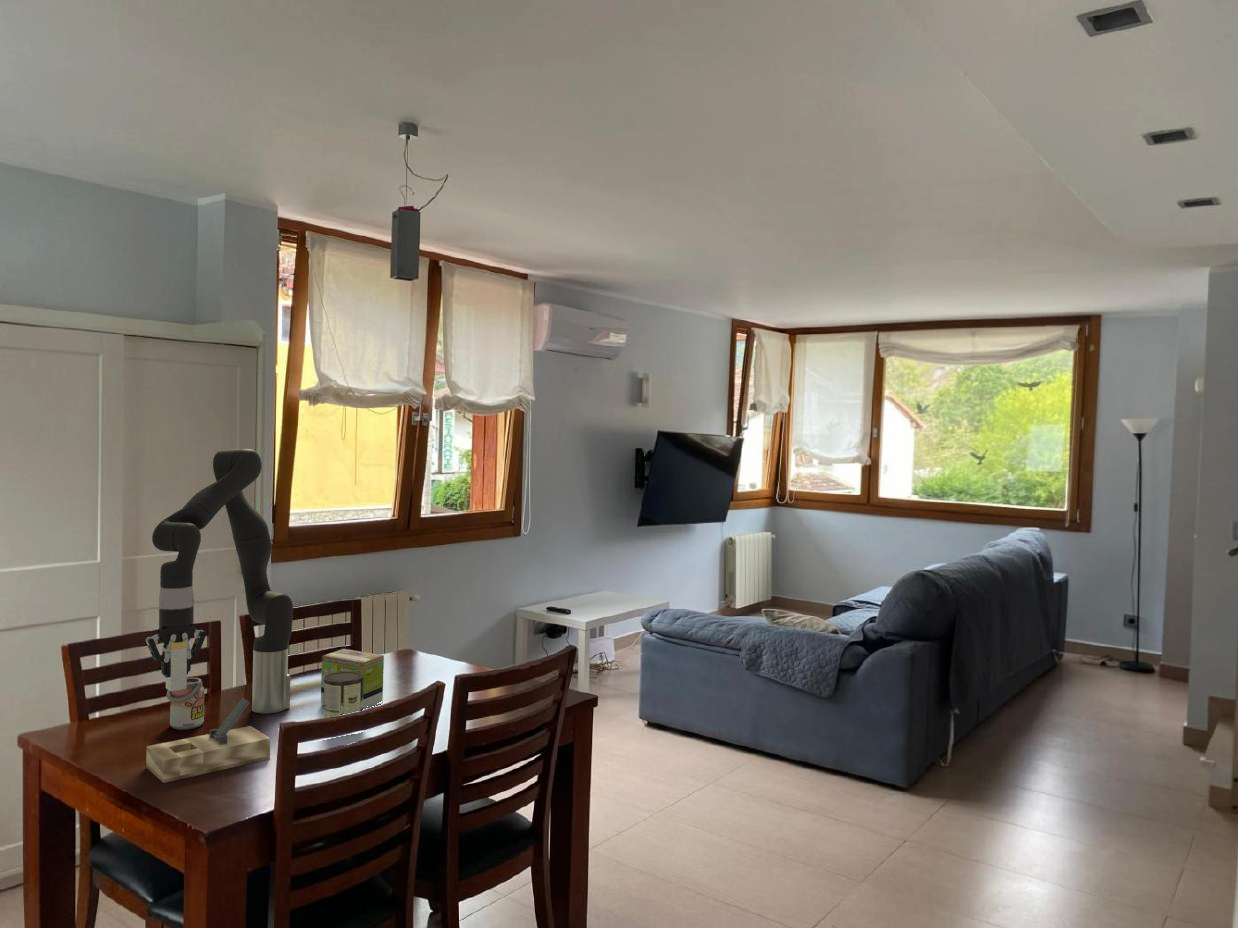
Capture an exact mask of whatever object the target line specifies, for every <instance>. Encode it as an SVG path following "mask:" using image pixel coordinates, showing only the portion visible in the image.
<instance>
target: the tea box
mask: <svg viewBox="0 0 1238 928" xmlns="http://www.w3.org/2000/svg"><path fill="white" fill-rule="evenodd" d="M384 656H385V655H383V654H379V653H378V654H377V653H371V652H364V651H359V650H355V649H354V650H353V649H348V648H347V649H346V648H341V649H338V650H336V651H333V652H330V653H327V654H324V655H321V674H320V675H321V676H320V677H321V678H320V679H321V680H320V681H321V683H320V704H321V705H323V706H324V677H325V676H326V675H328V674H331V673H336V672H359V673H362V674H363V675H364V679H363V709H366V708H370V707H372V706H375V705H377V703H379V702H381V701H382V702H383V700H384V698H383V697H384V695H383V694H384V670H385V669H384V668H385V667H384V665H385V664H384V663H385V662H384V661H385V657H384ZM367 706H368V707H367ZM375 707H376V706H375Z"/></svg>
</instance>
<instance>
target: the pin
mask: <svg viewBox="0 0 1238 928" xmlns="http://www.w3.org/2000/svg"><path fill="white" fill-rule="evenodd" d="M170 648H171V653H170V659H169V662H170V677H168V678H166V677H165V689H166V690H169V691H176V690H182V689H187V678H188V677H187V675H188V674H187V641H184V642H183V641H180V642H174V643H171V647H170Z"/></svg>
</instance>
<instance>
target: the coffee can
mask: <svg viewBox="0 0 1238 928" xmlns="http://www.w3.org/2000/svg"><path fill="white" fill-rule="evenodd" d="M363 679H364V675H363V674H362V673H359V672H336V673H331V674H328V675H326V676H325V677H324V705H323V719H324V718H329V717H335V716H339V715H343V714H348V713H352V712H356V711H362V710H363Z"/></svg>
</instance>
